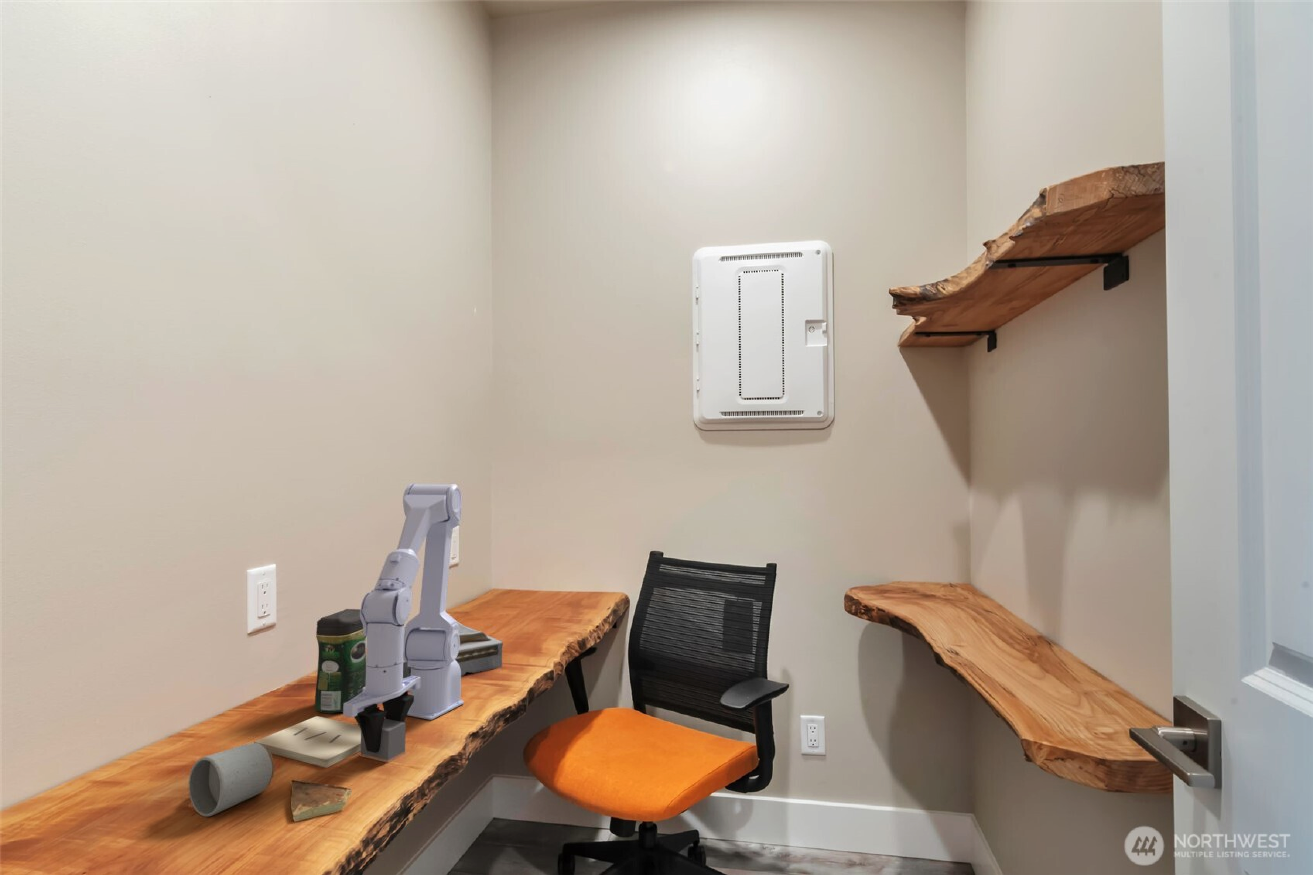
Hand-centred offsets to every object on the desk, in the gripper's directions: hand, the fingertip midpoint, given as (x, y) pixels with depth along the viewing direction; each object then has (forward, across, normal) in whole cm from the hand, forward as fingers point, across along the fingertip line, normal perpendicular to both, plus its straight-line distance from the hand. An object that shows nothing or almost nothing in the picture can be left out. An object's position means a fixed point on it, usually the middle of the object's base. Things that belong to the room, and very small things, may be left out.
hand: (383, 745), depth 106 cm
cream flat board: (+1, +1, -13) cm, 13 cm away
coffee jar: (+2, -13, -24) cm, 28 cm away
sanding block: (+1, 0, 0) cm, 1 cm away
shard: (+2, +16, +2) cm, 16 cm away
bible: (+2, -39, -24) cm, 46 cm away
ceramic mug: (+2, +20, -9) cm, 22 cm away
